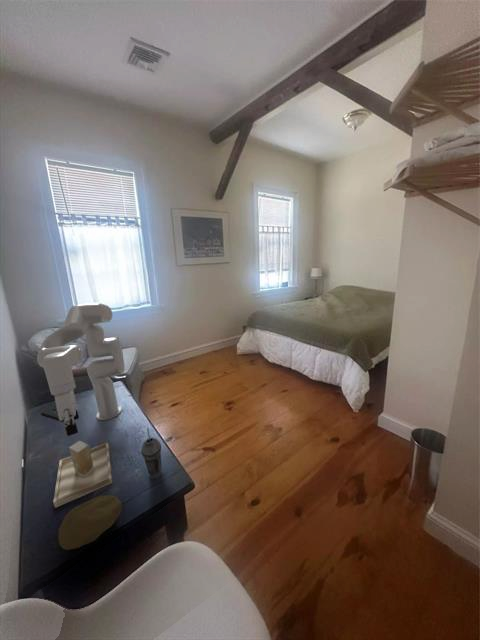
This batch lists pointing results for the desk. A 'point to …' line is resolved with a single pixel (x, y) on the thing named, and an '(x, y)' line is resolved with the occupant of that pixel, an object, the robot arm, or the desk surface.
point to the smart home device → (51, 412)
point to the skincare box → (81, 458)
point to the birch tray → (77, 486)
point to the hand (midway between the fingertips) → (73, 426)
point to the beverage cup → (152, 456)
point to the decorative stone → (88, 521)
